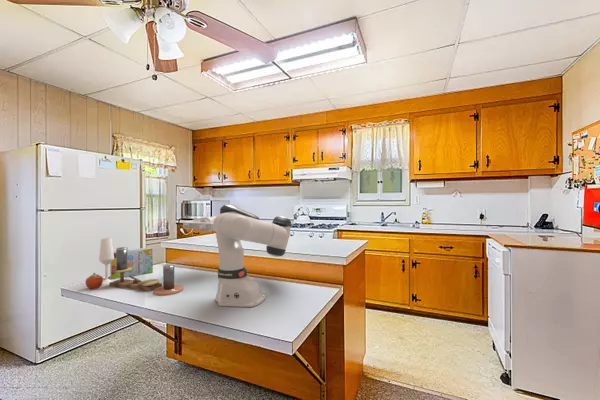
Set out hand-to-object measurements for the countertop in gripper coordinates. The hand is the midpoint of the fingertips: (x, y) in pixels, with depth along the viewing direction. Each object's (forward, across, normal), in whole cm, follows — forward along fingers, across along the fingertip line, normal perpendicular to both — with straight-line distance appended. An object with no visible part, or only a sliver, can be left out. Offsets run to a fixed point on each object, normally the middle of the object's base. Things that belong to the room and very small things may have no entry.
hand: (191, 226), depth 157 cm
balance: (+17, +21, -30) cm, 40 cm away
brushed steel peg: (+17, 0, -29) cm, 33 cm away
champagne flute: (+16, +42, -30) cm, 54 cm away
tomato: (+25, +39, -30) cm, 55 cm away
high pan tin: (+17, +30, -21) cm, 41 cm away
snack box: (0, +42, -30) cm, 52 cm away
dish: (+17, 0, -30) cm, 34 cm away
